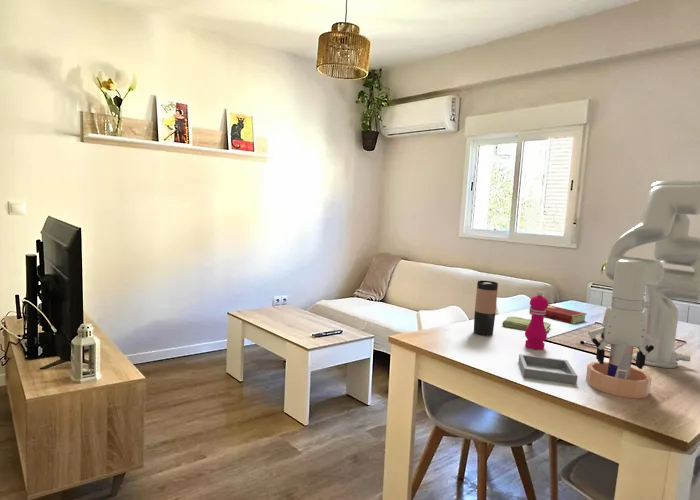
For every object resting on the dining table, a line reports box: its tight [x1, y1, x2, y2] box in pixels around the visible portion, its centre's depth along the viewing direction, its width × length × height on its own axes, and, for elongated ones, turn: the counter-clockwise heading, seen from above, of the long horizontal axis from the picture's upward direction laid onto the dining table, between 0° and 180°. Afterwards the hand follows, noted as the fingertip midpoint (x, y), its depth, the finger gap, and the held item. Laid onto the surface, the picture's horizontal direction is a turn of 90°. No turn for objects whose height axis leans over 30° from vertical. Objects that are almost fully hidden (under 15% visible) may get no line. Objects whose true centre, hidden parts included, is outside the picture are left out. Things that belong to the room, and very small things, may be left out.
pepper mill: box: [524, 290, 549, 350], centre depth 162 cm, size 7×7×20 cm
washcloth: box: [502, 316, 551, 333], centre depth 192 cm, size 13×18×3 cm
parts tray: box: [518, 353, 578, 385], centre depth 137 cm, size 14×14×2 cm
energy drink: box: [607, 343, 634, 380], centre depth 129 cm, size 5×5×12 cm
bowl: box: [585, 361, 652, 399], centre depth 129 cm, size 15×15×4 cm
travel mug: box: [473, 280, 499, 337], centre depth 176 cm, size 8×8×20 cm
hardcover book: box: [529, 304, 587, 324], centre depth 215 cm, size 12×21×4 cm, turn 36°
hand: (619, 364), depth 129 cm, fingers open, 9 cm apart
